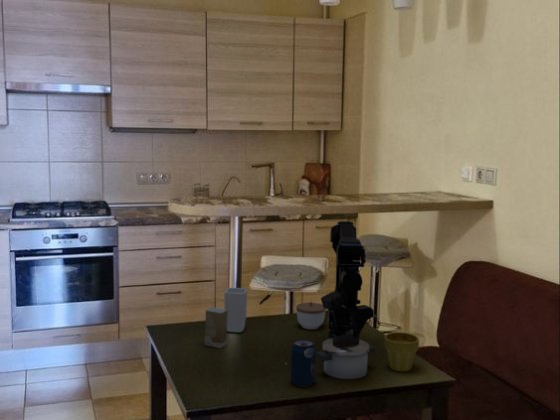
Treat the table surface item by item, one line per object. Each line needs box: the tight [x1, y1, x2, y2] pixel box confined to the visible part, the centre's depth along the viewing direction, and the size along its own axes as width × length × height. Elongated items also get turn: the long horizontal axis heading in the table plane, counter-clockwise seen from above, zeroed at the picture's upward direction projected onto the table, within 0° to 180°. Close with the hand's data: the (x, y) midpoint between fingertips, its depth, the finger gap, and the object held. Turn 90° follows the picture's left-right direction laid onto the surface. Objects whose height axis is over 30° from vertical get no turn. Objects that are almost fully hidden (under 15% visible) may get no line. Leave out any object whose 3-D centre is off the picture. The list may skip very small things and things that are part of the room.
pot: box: [315, 344, 376, 380], centre depth 196 cm, size 19×13×7 cm
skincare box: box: [204, 307, 228, 349], centre depth 216 cm, size 6×4×12 cm
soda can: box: [290, 338, 316, 387], centre depth 186 cm, size 7×7×12 cm
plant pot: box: [383, 331, 420, 372], centre depth 200 cm, size 10×10×10 cm
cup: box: [224, 287, 248, 334], centre depth 231 cm, size 7×7×15 cm
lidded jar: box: [295, 301, 327, 331], centre depth 238 cm, size 11×11×9 cm
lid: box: [322, 330, 370, 357], centre depth 196 cm, size 14×14×5 cm
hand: (346, 333), depth 195 cm, fingers open, 9 cm apart
